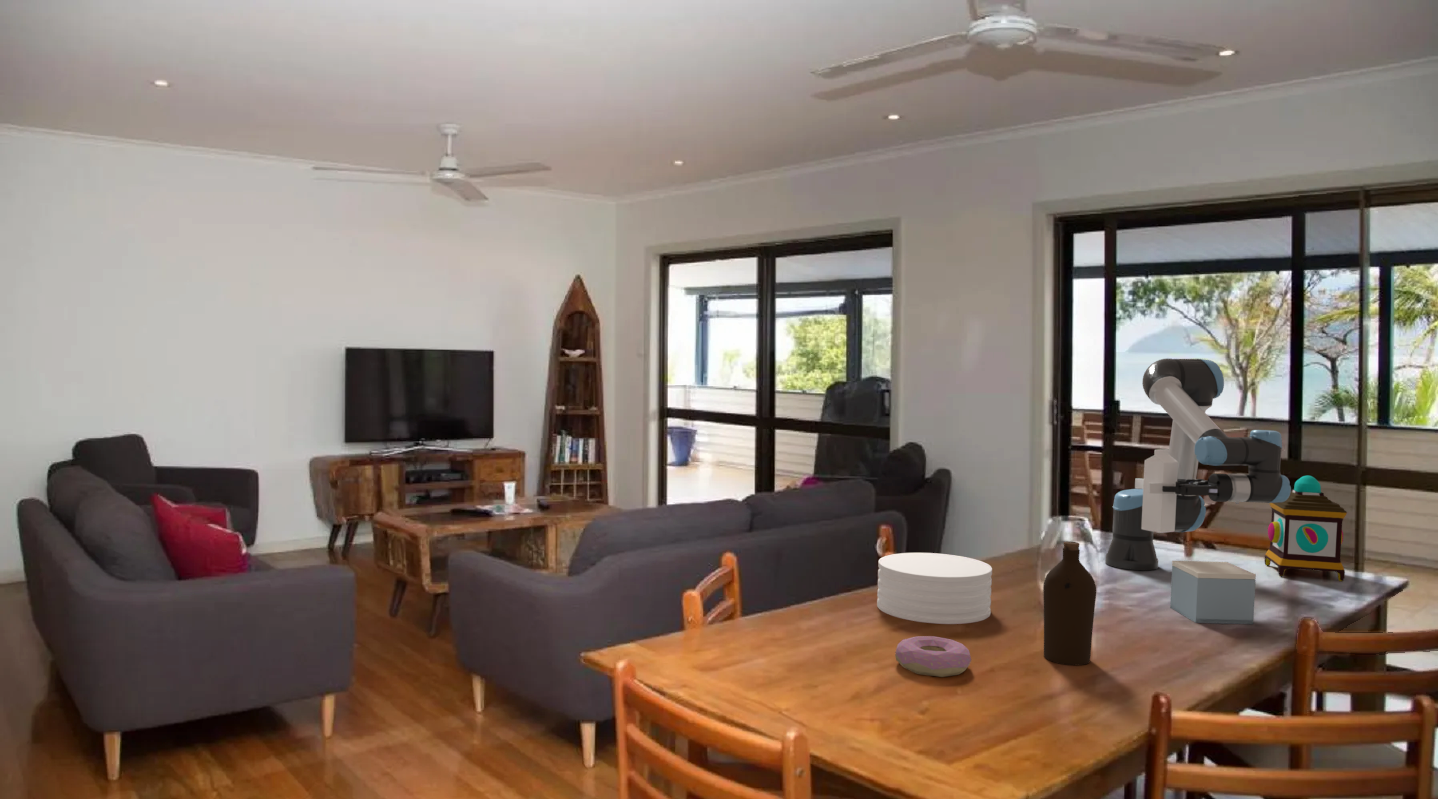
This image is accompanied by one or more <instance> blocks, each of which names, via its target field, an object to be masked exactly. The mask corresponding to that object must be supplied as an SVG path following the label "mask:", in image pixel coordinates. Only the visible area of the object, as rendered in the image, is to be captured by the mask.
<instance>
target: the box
mask: <svg viewBox="0 0 1438 799" xmlns="http://www.w3.org/2000/svg"><path fill="white" fill-rule="evenodd" d="M1256 582H1257V581H1256V579H1218V578H1197V577H1195V576H1193V575H1191V574H1189V573H1187V572H1185V571H1183V570H1181V569H1179V568H1177V567H1174V566H1172V565H1171V583H1170V604H1169V606H1170V609H1172V610H1173V611H1175V612H1177V613H1178V614H1180V615H1182V616H1183V617H1185V618H1187V619H1188V620H1190V621H1192V622H1194V623H1195V624H1197V623H1198V624H1224V625H1225V624H1226V625H1227V624H1230V625H1231V624H1232V625H1233V624H1234V625H1254V617H1255V616H1254V613H1255V600H1256V599H1255V598H1256V596H1255V595H1256Z"/></svg>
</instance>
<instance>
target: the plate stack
mask: <svg viewBox="0 0 1438 799" xmlns="http://www.w3.org/2000/svg"><path fill="white" fill-rule="evenodd" d="M877 567H878V570H877V577H878V579H877V588H878V589H877V599H876V606H877V608H878V609H879V610H880V611H881V612H883V613H885V614H887V615H890V616H891V617H895V618H898V619H901V620H902V619H903V620H907V621H912V622H913V621H914V622H917V623H925V624H926V623H928V624H940V625H957V624H958V625H961V624H971V623H978V622H981V621H984V620H986V619H988V618H989V617H990V616H991V613H992V612H991V611H992V610H991V605H992V598H991V595H992V587H991V586H992V581H993V579H992V575H993V568H992V566H991V565H990V564H989V563H986V562H984V561H982V560H979V559H975V558H972V557H968V556H967V557H966V556H963V555H954V554H948V553H947V554H946V553H936V552H934V553H933V552H901V553H893V554H888V555H885V556H883V557H882V556H881V558H879V559H878V566H877Z"/></svg>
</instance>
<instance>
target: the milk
mask: <svg viewBox="0 0 1438 799" xmlns="http://www.w3.org/2000/svg"><path fill="white" fill-rule="evenodd" d="M1153 454H1154V455H1152V456H1150V457H1148V458H1146V459H1144V465H1143V467H1144V468H1143V479H1144V484H1143V506H1142V527H1141V529H1143V530H1148V531H1152V532H1153V533H1158V534H1164V533H1165V534H1167V533H1175V532H1174V531H1175V515H1176V494H1175V492H1174V494H1154V493H1148V488H1149V483H1174V484H1175V486H1176V482H1177V474H1178V461H1176V460H1175V459H1174V458H1173V457H1171V456H1170V455H1169V448H1161V449H1154V453H1153Z"/></svg>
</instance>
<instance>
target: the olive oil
mask: <svg viewBox="0 0 1438 799" xmlns="http://www.w3.org/2000/svg"><path fill="white" fill-rule="evenodd" d="M1080 551H1081V550H1080V543H1079V542H1077V541H1069V540H1068V541H1063V548H1062V559H1061V560H1060V561H1059V562H1058V563H1057V564H1056V565H1054V567H1053V568H1051V569H1050V570H1049V571H1048V572H1047V574H1046V576H1045V578H1044V581H1043V587H1042V590H1043V592H1042V595H1043V657H1044V658H1045V659H1046V660H1048V661H1050V662H1053V663H1055V664H1061V665H1065V666H1066V665H1067V666H1082V665H1083V666H1084V665H1087V664H1089V663H1090V662H1091V657H1092V656H1091V655H1092V644H1093V642H1092V641H1093V630H1094V629H1093V628H1094V617H1095V610H1096V609H1095V607H1096V601H1097V600H1096V599H1097V598H1096V597H1097V585H1096V581H1095V580H1094V577H1093V575H1092V574H1091V573H1090V571H1088V569H1086V568H1085V566H1084V565H1083V564H1082V563H1081V561H1080V553H1081V552H1080Z"/></svg>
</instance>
